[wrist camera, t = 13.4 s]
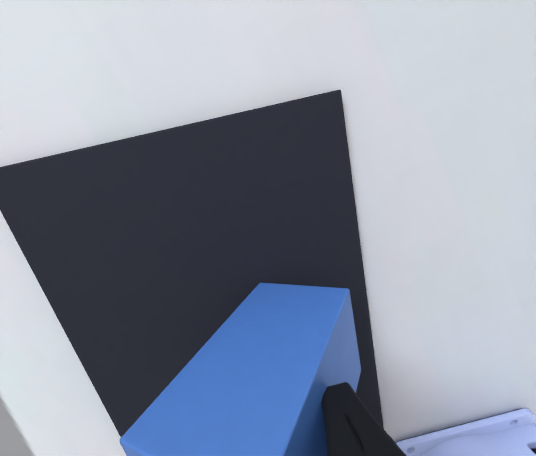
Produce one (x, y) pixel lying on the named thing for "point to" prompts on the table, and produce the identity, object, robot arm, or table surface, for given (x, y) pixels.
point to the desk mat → (188, 238)
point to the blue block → (257, 380)
